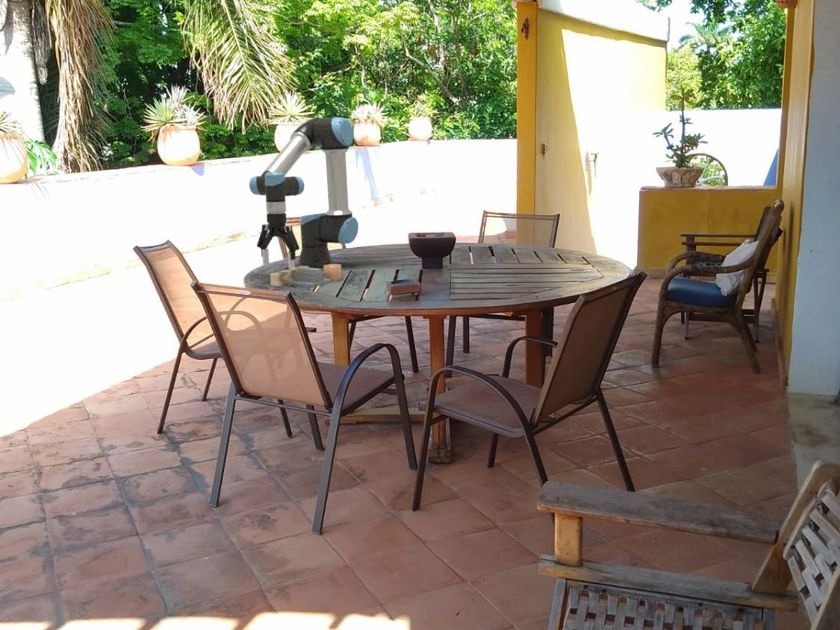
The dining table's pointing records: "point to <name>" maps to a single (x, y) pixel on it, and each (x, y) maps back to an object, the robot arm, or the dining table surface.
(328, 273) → the orange-brown rounded piece
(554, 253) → the dining table surface
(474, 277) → the dining table surface
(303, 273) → the fulcrum
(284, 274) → the bar
